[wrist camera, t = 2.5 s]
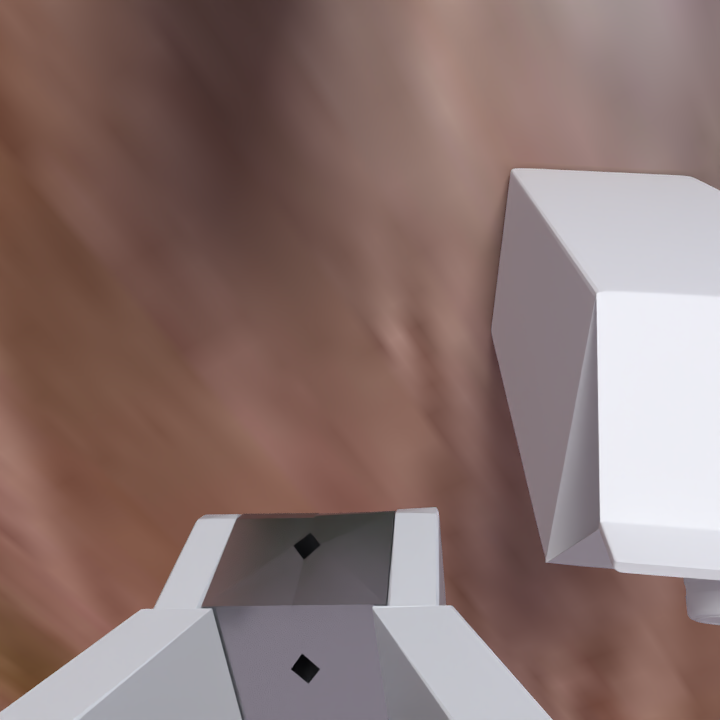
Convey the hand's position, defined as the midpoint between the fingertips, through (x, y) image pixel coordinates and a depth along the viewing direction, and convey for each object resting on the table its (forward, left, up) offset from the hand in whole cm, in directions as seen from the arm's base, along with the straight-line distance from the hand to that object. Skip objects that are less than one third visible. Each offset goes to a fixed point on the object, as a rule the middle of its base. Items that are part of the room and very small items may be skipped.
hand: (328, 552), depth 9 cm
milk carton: (0, -8, -22) cm, 23 cm away
